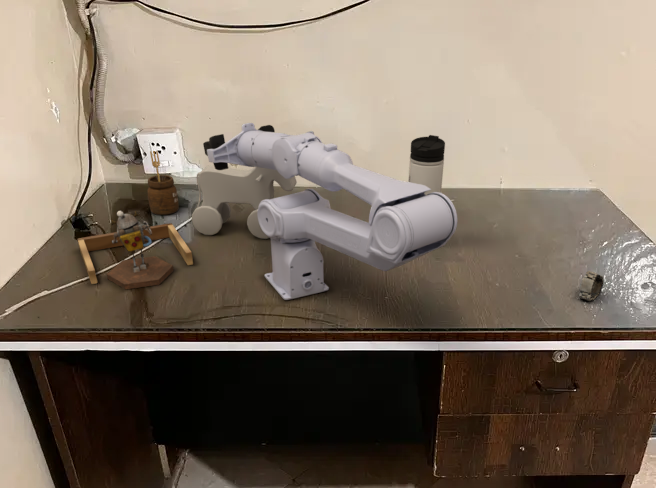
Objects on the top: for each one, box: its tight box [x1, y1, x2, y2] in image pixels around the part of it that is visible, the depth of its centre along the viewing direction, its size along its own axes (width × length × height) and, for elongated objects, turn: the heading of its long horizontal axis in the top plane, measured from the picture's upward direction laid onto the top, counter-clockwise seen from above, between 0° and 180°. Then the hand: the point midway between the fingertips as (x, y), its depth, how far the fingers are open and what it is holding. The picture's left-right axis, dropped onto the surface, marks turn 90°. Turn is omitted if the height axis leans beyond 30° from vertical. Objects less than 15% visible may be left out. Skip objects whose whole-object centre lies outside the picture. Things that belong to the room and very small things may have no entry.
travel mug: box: [407, 134, 446, 195], centre depth 117 cm, size 6×7×20 cm
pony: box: [191, 164, 297, 240], centre depth 120 cm, size 20×10×17 cm, turn 84°
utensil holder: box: [147, 150, 180, 216], centre depth 129 cm, size 6×6×12 cm
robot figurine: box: [106, 210, 175, 290], centre depth 104 cm, size 11×9×12 cm
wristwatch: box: [578, 270, 604, 302], centre depth 103 cm, size 3×5×5 cm
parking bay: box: [76, 222, 194, 285], centre depth 112 cm, size 14×17×2 cm
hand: (225, 144), depth 109 cm, fingers open, 7 cm apart
